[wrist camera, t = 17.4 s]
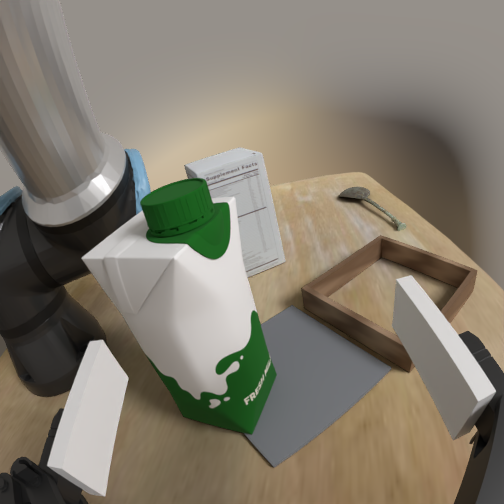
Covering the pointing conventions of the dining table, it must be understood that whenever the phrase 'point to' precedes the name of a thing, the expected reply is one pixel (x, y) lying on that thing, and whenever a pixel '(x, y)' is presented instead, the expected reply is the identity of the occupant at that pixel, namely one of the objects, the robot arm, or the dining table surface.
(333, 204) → the dining table surface
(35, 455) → the dining table surface
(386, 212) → the soupspoon
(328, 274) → the walnut frame
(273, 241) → the supplement box
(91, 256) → the soya milk
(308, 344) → the rubber mat
